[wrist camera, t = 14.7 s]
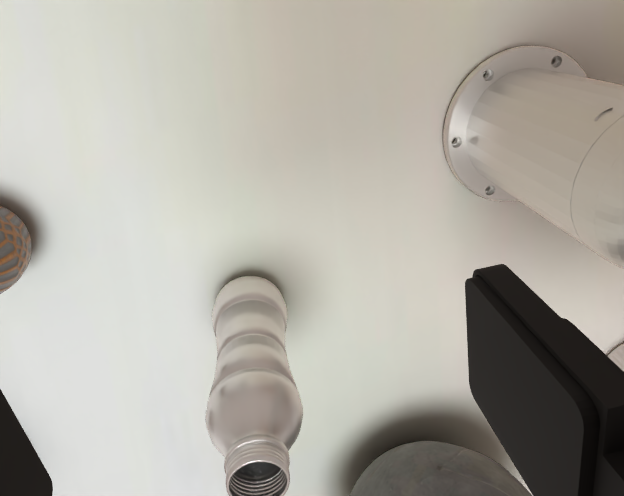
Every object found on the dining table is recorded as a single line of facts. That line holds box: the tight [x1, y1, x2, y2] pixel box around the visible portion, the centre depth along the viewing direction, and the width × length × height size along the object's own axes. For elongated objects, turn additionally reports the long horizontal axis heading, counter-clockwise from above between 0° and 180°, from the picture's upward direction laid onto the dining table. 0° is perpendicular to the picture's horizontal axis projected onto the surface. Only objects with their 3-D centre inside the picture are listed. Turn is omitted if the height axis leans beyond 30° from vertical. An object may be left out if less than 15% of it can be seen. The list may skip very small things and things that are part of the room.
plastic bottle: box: [205, 276, 303, 496], centre depth 38 cm, size 6×7×20 cm
